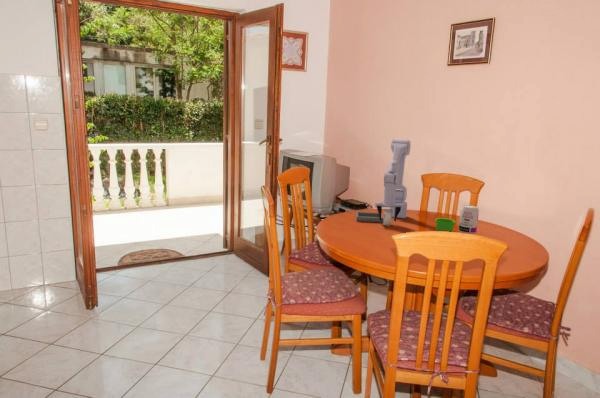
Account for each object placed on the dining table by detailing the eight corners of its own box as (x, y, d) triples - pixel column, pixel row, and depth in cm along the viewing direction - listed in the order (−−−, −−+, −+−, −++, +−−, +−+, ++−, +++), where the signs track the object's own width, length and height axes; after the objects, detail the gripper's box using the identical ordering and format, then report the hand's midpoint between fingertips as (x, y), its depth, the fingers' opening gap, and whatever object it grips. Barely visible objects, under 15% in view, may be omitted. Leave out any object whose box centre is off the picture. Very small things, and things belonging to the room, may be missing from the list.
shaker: (390, 223, 229) (392, 208, 227) (391, 225, 224) (393, 210, 223) (382, 223, 229) (383, 208, 227) (383, 225, 225) (384, 210, 223)
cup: (456, 246, 191) (458, 223, 189) (435, 246, 191) (438, 222, 189) (449, 241, 200) (452, 218, 198) (430, 240, 200) (432, 217, 198)
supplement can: (472, 234, 213) (476, 205, 210) (477, 239, 205) (481, 209, 202) (456, 233, 213) (459, 204, 210) (460, 238, 205) (463, 208, 202)
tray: (380, 217, 241) (380, 213, 241) (382, 222, 230) (383, 218, 229) (355, 216, 242) (356, 211, 242) (356, 221, 231) (357, 216, 230)
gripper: (376, 196, 220) (374, 221, 223) (404, 197, 219) (402, 223, 222) (375, 193, 227) (373, 218, 230) (402, 195, 226) (400, 219, 229)
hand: (387, 220), depth 226 cm, fingers open, 7 cm apart
